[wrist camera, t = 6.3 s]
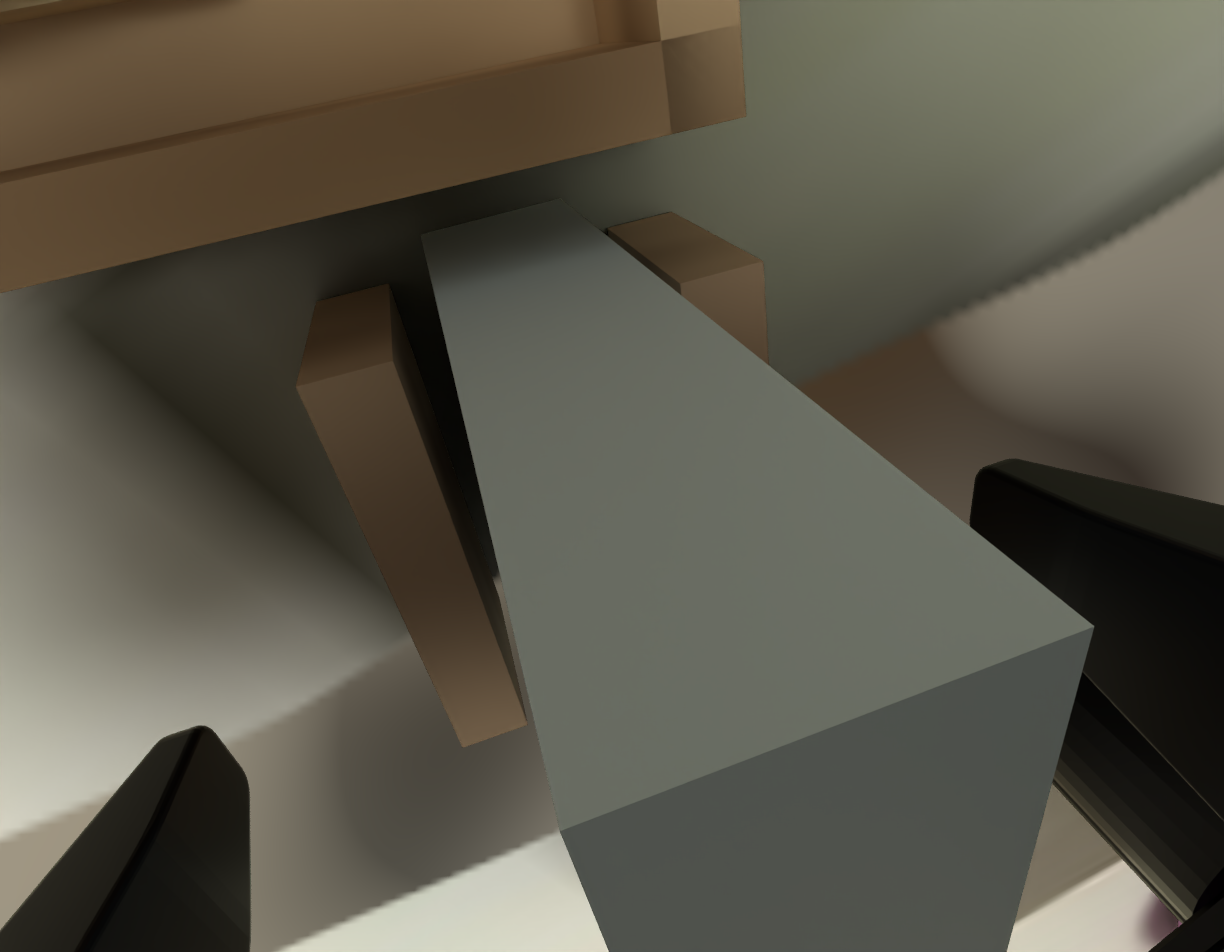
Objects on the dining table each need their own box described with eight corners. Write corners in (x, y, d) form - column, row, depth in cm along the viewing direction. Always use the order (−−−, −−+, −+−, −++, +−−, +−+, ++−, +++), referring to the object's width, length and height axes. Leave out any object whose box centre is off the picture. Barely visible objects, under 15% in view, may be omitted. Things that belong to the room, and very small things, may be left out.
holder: (709, 529, 14) (783, 635, 11) (446, 614, 13) (462, 747, 11) (671, 211, 10) (763, 261, 8) (316, 302, 10) (295, 386, 7)
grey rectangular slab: (640, 569, 14) (946, 1174, 6) (541, 603, 14) (740, 1275, 6) (560, 198, 10) (1093, 627, 3) (420, 234, 10) (559, 828, 2)
